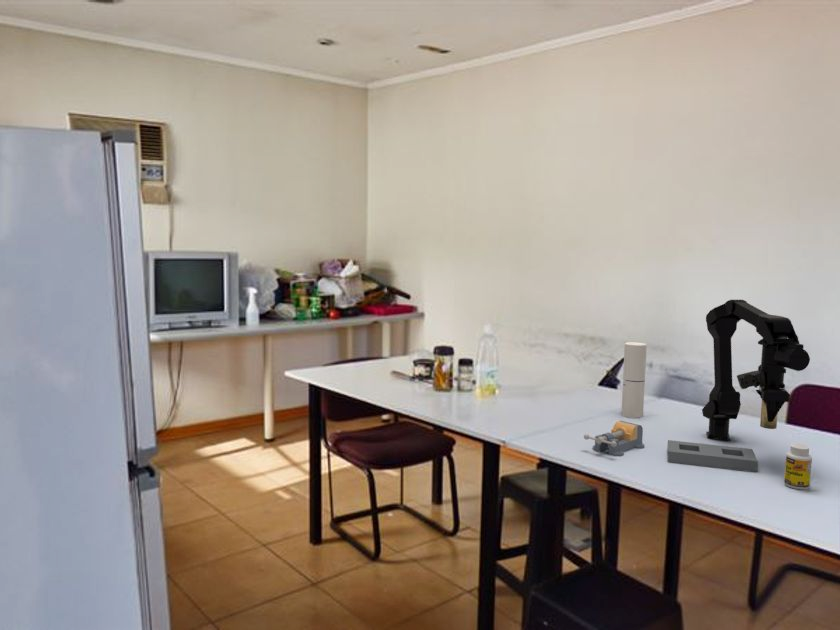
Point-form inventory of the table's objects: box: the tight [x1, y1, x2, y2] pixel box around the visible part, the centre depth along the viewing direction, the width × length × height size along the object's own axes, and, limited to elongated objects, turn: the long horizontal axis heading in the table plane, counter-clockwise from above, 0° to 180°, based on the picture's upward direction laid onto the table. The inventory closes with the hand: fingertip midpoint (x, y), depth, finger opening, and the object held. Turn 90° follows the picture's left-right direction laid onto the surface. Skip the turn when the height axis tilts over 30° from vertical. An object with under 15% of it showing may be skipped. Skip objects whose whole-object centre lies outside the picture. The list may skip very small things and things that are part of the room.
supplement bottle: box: [783, 443, 813, 490], centre depth 166 cm, size 6×6×10 cm
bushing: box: [759, 399, 779, 430], centre depth 183 cm, size 4×4×8 cm
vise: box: [583, 420, 645, 457], centre depth 195 cm, size 18×10×7 cm, turn 131°
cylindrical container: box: [620, 341, 648, 419], centre depth 231 cm, size 7×7×25 cm
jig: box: [666, 439, 759, 473], centre depth 185 cm, size 11×22×3 cm, turn 71°
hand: (768, 419), depth 184 cm, fingers closed on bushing, 4 cm apart
